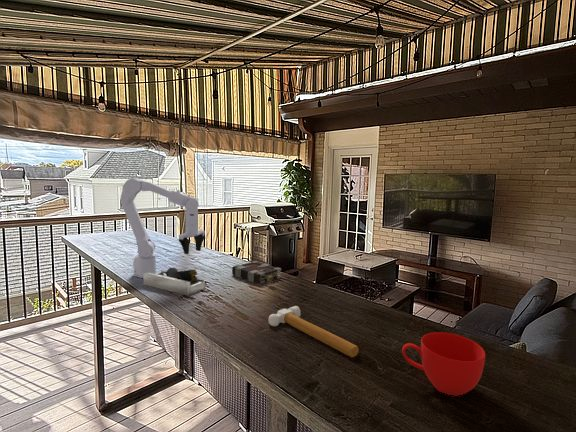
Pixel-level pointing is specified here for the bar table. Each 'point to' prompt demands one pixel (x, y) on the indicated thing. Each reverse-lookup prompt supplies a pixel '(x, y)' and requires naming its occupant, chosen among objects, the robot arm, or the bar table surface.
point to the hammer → (312, 330)
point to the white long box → (172, 283)
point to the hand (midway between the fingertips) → (192, 252)
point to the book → (256, 272)
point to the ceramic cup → (449, 362)
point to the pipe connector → (182, 274)
